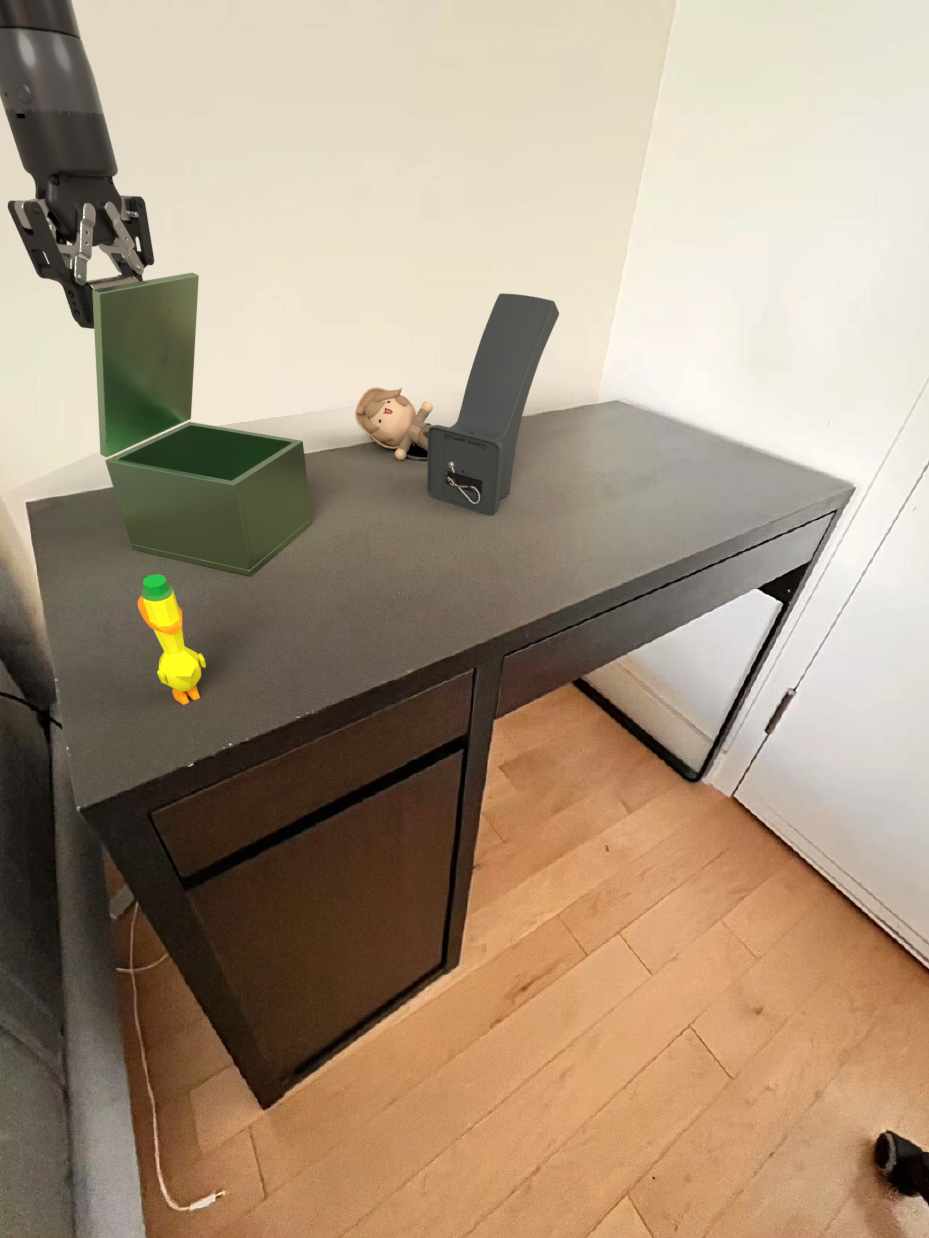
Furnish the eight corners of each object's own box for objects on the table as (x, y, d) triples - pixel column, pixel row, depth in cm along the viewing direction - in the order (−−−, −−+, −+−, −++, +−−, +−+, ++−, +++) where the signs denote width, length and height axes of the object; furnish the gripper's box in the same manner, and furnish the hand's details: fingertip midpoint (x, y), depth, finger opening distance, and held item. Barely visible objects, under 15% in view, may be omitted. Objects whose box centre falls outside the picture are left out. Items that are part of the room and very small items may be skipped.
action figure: (407, 456, 89) (339, 425, 96) (442, 487, 98) (378, 456, 105) (441, 394, 88) (371, 368, 95) (473, 431, 98) (407, 405, 105)
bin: (312, 523, 78) (303, 440, 72) (250, 576, 67) (233, 484, 61) (207, 502, 81) (189, 421, 75) (132, 550, 71) (104, 460, 64)
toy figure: (150, 682, 53) (109, 563, 46) (191, 665, 55) (158, 548, 48) (181, 725, 49) (141, 603, 42) (224, 706, 51) (193, 585, 44)
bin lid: (199, 275, 64) (150, 251, 65) (99, 293, 54) (42, 265, 54) (191, 419, 75) (149, 398, 75) (106, 457, 64) (58, 433, 64)
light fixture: (548, 476, 94) (571, 299, 79) (492, 518, 82) (508, 317, 67) (486, 459, 98) (498, 288, 84) (425, 497, 86) (426, 304, 72)
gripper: (84, 113, 59) (135, 306, 69) (-60, 100, 48) (26, 332, 58) (149, 114, 57) (192, 312, 67) (15, 100, 46) (91, 339, 56)
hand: (115, 320), depth 63 cm, fingers closed on bin lid, 6 cm apart
